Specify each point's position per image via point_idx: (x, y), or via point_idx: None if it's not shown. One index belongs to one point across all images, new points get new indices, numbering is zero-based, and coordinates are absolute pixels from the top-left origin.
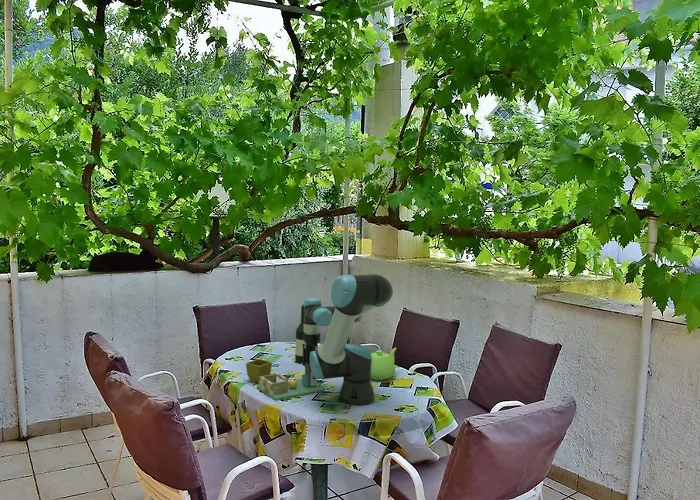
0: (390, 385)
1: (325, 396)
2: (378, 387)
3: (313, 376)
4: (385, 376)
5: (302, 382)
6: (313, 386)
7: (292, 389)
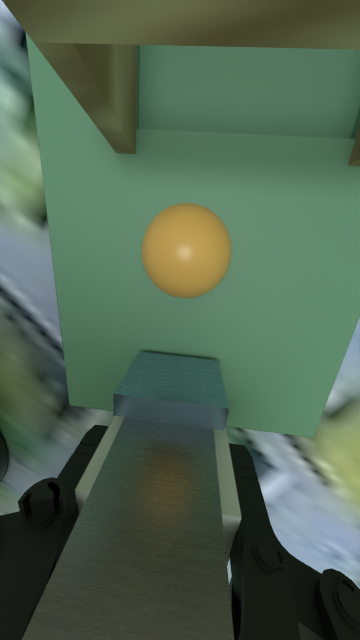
0: None
1: (7, 358)
2: None
3: (90, 446)
4: None
5: (209, 365)
6: None
7: None
